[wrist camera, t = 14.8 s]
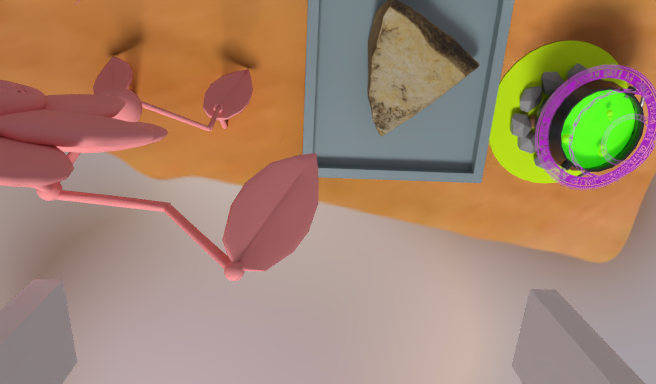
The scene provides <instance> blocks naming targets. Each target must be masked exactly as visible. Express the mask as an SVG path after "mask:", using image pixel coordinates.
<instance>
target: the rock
mask: <svg viewBox="0 0 656 384" xmlns="http://www.w3.org/2000/svg"><path fill="white" fill-rule="evenodd" d="M479 66H480V64H479V63H478V62H477V61H476V60H474V59H473V58H472V56H471V55H470V54H469V53H468V52H466V51H465V50H464V49H463V48H462V47H461V46H460V44H459V43H458V42H457V41H456V40H455V39H454V38H453V37H452V36H450V35H448V34H446V33H445V32H444V31H442V30H440V29H439V28H438V27H437V26H436V25H434V24H433V23H431V22H430V21H429V20H428V19H427V18H425V17H424V16H423V15H422V14H420V13H418V12H417V11H415V10H413V9H412V8H411V7H410V6H407V5H405V4H403V3H402V2H400V1H399V0H387V2H386V3H385V4H382V6H381V7H380V8H379V9H378V10H377V12H376V14H375V16H374V19H373V26H372V28H371V32H370V36H369V39H368V87H367V94H368V100H369V104H370V107H371V112H372V119H373V122H374V124H375V126H376V129H377V131H378V133H379V135H380V136H383V135H385V134H386V133H388V132H390V131H391V130H393V129H394V128H395V127H397V126H399V125H401V124H403V123H404V122H406V121H407V120H409V119H410V118H412V117H413V116H415V115H416V114H417V113H419V112H420V111H421V110H423V109H424V108H426V107H427V106H429V105H430V104H432V103H433V102H434V101H436V100H437V99H438V98H440V97H441V96H442V95H444V94H445V93H446V92H447V91H448V90H450V89H451V88H452V87H453V86H455V85H456V84H458V83H459V82H460V81H461V80H463V79H464V78H465V77H467V76H468V75H469V74H470V73H471V72H473V71H475V70H476V69H477V68H478V67H479Z"/></svg>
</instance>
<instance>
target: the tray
mask: <svg viewBox="0 0 656 384" xmlns="http://www.w3.org/2000/svg"><path fill="white" fill-rule="evenodd" d="M399 1H400V2H402V3H403V4H405V5H407V6H410V7H411V8H412V9H413V10H415V11H417V12H418V13H420V14H422V15H423V16H424V17H425V18H427V19H428V20H429V21H430V22H431V23H433V24H434V25H436V26H437V27H438V28H439V29H440V30H442V31H444V32H445V33H446V34H448V35H450V36H452V37H453V38H454V39H455V40H456V41H457V42H458V43H459V44H460V46H461V47H462V48H463V49H464V50H465V51H466V52H468V53H469V54H470V55H471V56H472V58H473V59H474V60H476V61H477V62H478V63H479V64H480V66H479V67H478V68H477V69H476V70H475V71H473V72H471V73H470V74H469V75H468V76H467V77H465V78H464V79H463V80H461V81H460V82H459V83H458V84H456V85H455V86H453V87H452V88H451V89H450V90H448V91H447V92H446V93H445V94H444V95H442V96H441V97H440V98H438V99H437V100H436V101H434V102H433V103H432V104H430V105H429V106H427V107H426V108H424V109H423V110H421V111H420V112H419V113H417V114H416V115H415V116H413V117H412V118H410V119H409V120H407V121H406V122H404V123H403V124H401V125H399V126H397V127H395V128H394V129H393V130H391V131H390V132H388V133H386V134H385V135H383V136H380V135H379V133H378V131H377V129H376V126H375V124H374V122H373V119H372V112H371V107H370V104H369V100H368V94H367V87H368V39H369V36H370V32H371V28H372V26H373V19H374V16H375V14H376V12H377V10H378V9H379V8H380V7H381V6H382V4H385V3H386V2H387V0H308V18H307V46H306V75H305V104H304V133H303V154H311V153H316V156H317V164H318V177H326V178H354V179H383V180H411V181H439V182H468V183H481V182H482V176H483V171H484V165H485V160H486V154H487V149H488V143H489V138H490V132H491V127H492V121H493V116H494V110H495V104H496V99H497V93H498V88H499V82H500V77H501V71H502V66H503V60H504V55H505V49H506V44H507V38H508V33H509V27H510V22H511V16H512V11H513V5H514V0H399Z"/></svg>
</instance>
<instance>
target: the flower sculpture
mask: <svg viewBox="0 0 656 384" xmlns="http://www.w3.org/2000/svg"><path fill="white" fill-rule="evenodd" d="M79 1H80V0H79ZM79 1H78V2H79ZM78 2H77V3H78ZM77 3H76V4H77ZM76 4H75V5H76ZM132 78H133V71H132V69H131V67H130V65H129V64H128V63H127V62H125V61H123V60H121V59H119V58H116V57H112V58H111V59H110V61H109V62H108V63H107V64H106V66H105V67H104V68H103V70H102V71H101V72H100V74H99V75H98V76H97V79H96V81H95V84H94V86H93V89H94V95H84V94H69V95H48V96H45V95H44V94H43V93H42V92H41V91H39V90H37V89H35V88H32V87H29V86H25V85H21V84H17V83H13V82H10V81H5V80H0V185H2V186H13V187H17V186H19V187H33V188H36V191H37V194H38V196H39V197H40V198H42V199H44V200H48V201H51V200H55V199H58V200H66V201H75V202H83V203H93V204H101V205H109V206H118V207H126V208H127V207H128V208H135V209H145V210H154V211H163V212H165V213H166V214H167V215H168V216H169V217H170V218H171V219H173V221H174V222H176V223H177V224H178V225H179V226H180V227H181V228H182V229H183V230H184V231H185V232H186V233H187V234H188V235H189V236H190V237H191V238H192V239H193V240H194V241H195V242H196V243H198V244H199V245H200V246H201V247H202V248H203V249H204V250H205V251H206V252H207V253H208V254H209V255H210V256H211V257H212V258H213V259H214V260H215V261H217V263H218V264H220V265H221V266H222V267H223V268H224V274H225V276H226V278H227V279H229V280H231V281H237V280H239V279H241V278H242V276H243V275H244V271H266V270H267V269H269V268H270V267H272V266H273V265H275V264H276V263H278V262H279V261H281V260H282V259H283V258H285V257H286V256H288V255H289V254H291V253H292V252H293V251H294V250H295V249H296V248H297V246H298V245H299V244H300V242H301V241H302V240H303V238H304V237H305V236H306V234H307V233H308V232H309V228H310V226H311V223H312V220H313V217H314V214H315V211H316V208H317V205H318V164H317V156H316V153H311V154H303V155H298V156H294V157H290V158H287V159H283V160H280V161H276V162H272V163H270V164H269V165H268V166H266V167H265V168H264V169H262V170H261V171H260V172H259V173H257V174H256V175H255V176H254V177H252V178H251V179H250V180H248V181H247V182H246V183H245V184H244V186H243V187H242V189H241V191H240V192H239V194H238V195H237V197H236V198H235V200H234V202H233V203H232V205H231V208H230V212H229V216H228V220H227V224H226V228H225V232H224V236H223V243H224V246H225V249H226V252H227V255H228V256H227V255H226V254H225V253H223V252H222V251H221V250H220V249H219V248H218V247H217V246H216V245H214V244H213V243H212V242H211V241H210V240H209V239H208V238H207V237H205V236H204V235H203V234H202V233H201V232H200V231H199V230H198V229H197V228H196V227H194V226H193V225H192V224H191V223H190V222H189V221H188V220H187V219H186V218H185V217H184V216H182V215H181V214H180V213H179V212H178V211H177V210H176V209H175V208H174V207H173V206H171V204H170V203H166V202H158V201H150V200H142V199H135V198H126V197H118V196H111V195H102V194H92V193H83V192H73V191H63V190H62V186H61V184H60V182H61V181H62V180H65V179H67V178H68V177H69V175H70V174H71V172H72V171H73V169H74V167H73V163H74V162H75V161H76V159H77V158H78V156H79V155H80V153H95V152H107V151H118V150H123V149H128V148H134V147H139V146H143V145H147V144H150V143H154V142H157V141H160V140H162V139H164V137H165V136H166V135H167V133H168V132H167V130H166V129H164V128H162V127H160V126H156V125H153V124H148V123H142V122H137V121H138V120H139V118H140V116H141V113H142V107H143V108H146V109H149V110H152V111H154V112H157V113H160V114H163V115H165V116H168V117H171V118H174V119H176V120H179V121H182V122H185V123H187V124H190V125H193V126H196V127H198V128H201V129H204V130H207V131H211V130H212V128H213V126H214V123H215V121H216V120H219V121H220V123H221V125H222V127H223V128H224V129H226V128H227V127H228V126H227V123H226V121H225V120H228V119H229V118H231V117H233V116H235V115H237V114H238V113H240V112H242V110H243V109H244V108H245V107H246V106H247V105H248V104H249V101H250V98H251V95H252V91H253V88H252V81H251V76H250V73H249V70H248V69H247V70H242V71H237V72H234V73H230V74H227V75H224V76H222V77H220V78H219V79H218V80H216V81H215V82H213V83H212V84H211V85H210V87H209V88H208V90H207V91H206V93H205V98H204V104H203V109H204V111H205V113H206V114H207V116H208V117H209V118H210V117H212V118H211V121H210V123H209V125H208V126H206V125H204V124H201V123H198V122H196V121H193V120H190V119H188V118H185V117H182V116H180V115H177V114H174V113H172V112H169V111H167V110H164V109H161V108H159V107H156V106H153V105H151V104H148V103H145V102H143V101H140V99H139V97H138V96H137V95H136V94H135V93H134V92H133V91H131V90H129V89H128V88H129V85H130V83H131V81H132ZM283 137H284V136H283ZM281 142H282V141H281ZM64 152H69V153H68V154H67V155H66V154H65V153H64Z"/></svg>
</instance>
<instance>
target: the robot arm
mask: <svg viewBox="0 0 656 384" xmlns="http://www.w3.org/2000/svg"><path fill="white" fill-rule="evenodd" d="M76 363H77V359H76V353H75V347H74V341H73V335H72V330H71V324H70V318H69V312H68V306H67V301H66V296H65V290H64V284H63V280H35V279H34V280H33V281H32V282H31V283H29V284H28V285H27V286H26V287H25V288H24V289H23V290H22V291H21V292H20V293H19V294H17V296H15V297H14V298H13V299H12V300H11V301H10V302H9V303H8V304H7V305H6V306H5V307H4V308H2V309H1V310H0V384H62V383H63V381H64V380H65V379H66V377H67V376H68V374H69V373H70V372H71V370H72V369H73V367H74V366H75V364H76ZM512 367H513V368H514V370H515V372H516V373H517V375H518V376H519V378H520V380H521V382H522V383H523V384H645V383H644V382H643V381H642V380H641V379H640V378H639V377H638V376H637V375H636V374H635V372H634V371H633V370H632V369H631V368H630V367H629V366H628V365H627V364H626V363H625V362H624V361H623V360H622V359H621V358H620V357H619V356H618V355H617V354H616V353H615V352H614V350H613V349H612V348H611V347H610V346H609V345H608V344H607V343H606V342H605V341H604V340H603V339H602V338H601V337H600V336H599V335H598V334H597V333H596V332H595V331H594V330H593V328H592V327H590V325H589V324H588V323H587V322H586V321H585V320H584V319H583V318H582V317H581V316H580V315H579V314H578V313H577V312H576V311H575V310H574V309H573V308H572V307H571V305H570V304H569V303H568V302H567V301H566V300H565V299H564V298H563V297H562V296H561V295H560V294H559V293H558V292H557V291H556V290H540V289H530V292H529V296H528V300H527V304H526V308H525V313H524V317H523V321H522V325H521V329H520V333H519V337H518V342H517V346H516V350H515V354H514V358H513V362H512Z"/></svg>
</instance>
